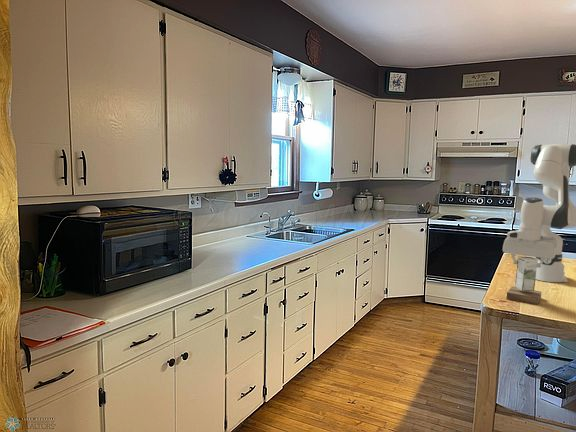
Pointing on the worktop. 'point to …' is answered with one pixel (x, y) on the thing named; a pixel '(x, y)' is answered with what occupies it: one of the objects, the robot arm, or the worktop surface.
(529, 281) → the syrup box
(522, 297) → the walnut base
